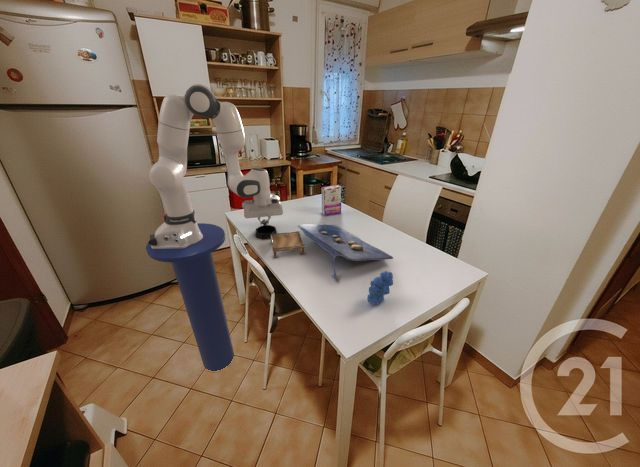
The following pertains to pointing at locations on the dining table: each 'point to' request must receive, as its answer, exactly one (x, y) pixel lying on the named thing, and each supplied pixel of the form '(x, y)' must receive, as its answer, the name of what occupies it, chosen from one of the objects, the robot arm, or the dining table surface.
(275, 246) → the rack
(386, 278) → the grapes
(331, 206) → the candy bar box
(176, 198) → the robot arm
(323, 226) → the blue piece
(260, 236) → the pan
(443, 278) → the dining table surface
